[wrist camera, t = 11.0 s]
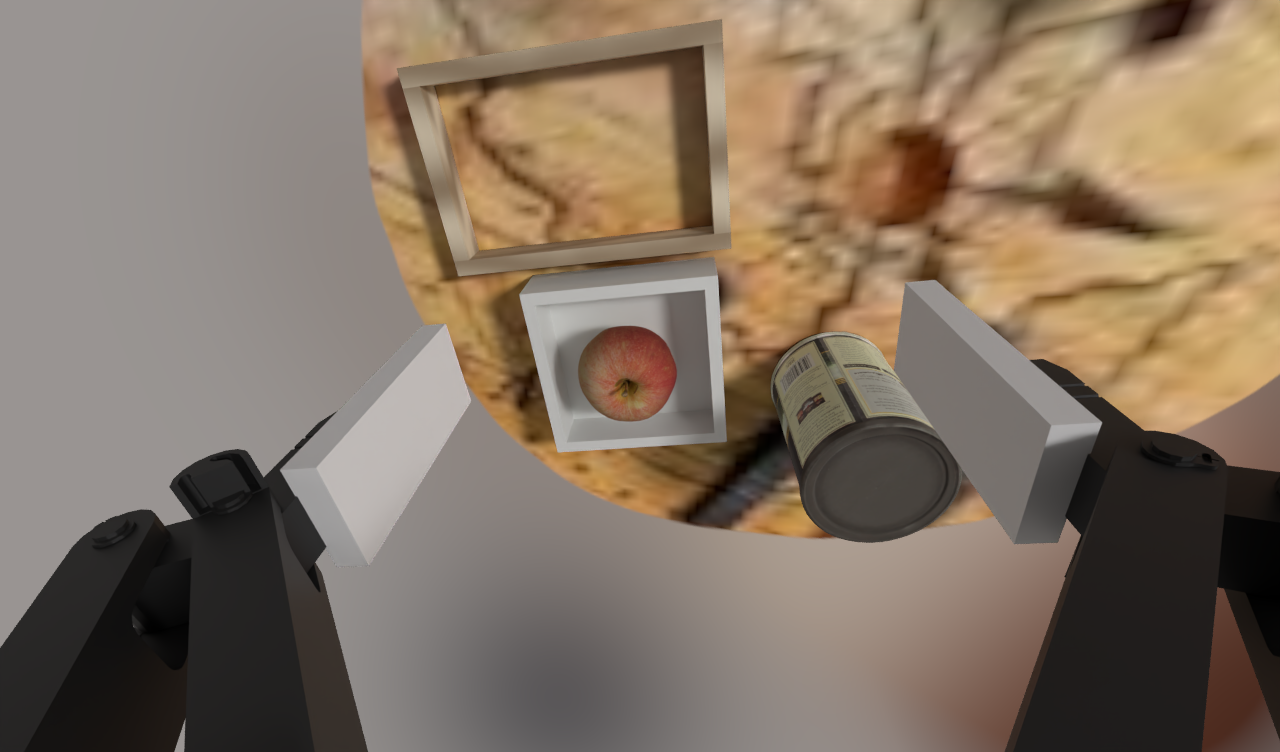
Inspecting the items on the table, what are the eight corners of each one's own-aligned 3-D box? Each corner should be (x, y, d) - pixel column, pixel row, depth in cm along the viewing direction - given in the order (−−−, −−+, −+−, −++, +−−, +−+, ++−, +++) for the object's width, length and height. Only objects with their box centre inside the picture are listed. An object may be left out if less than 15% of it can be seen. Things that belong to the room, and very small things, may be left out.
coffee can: (862, 438, 51) (921, 554, 38) (756, 418, 50) (781, 530, 38) (908, 341, 46) (993, 440, 33) (790, 319, 45) (832, 411, 33)
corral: (412, 68, 38) (396, 68, 36) (719, 22, 35) (721, 19, 33) (469, 266, 45) (458, 276, 43) (728, 239, 42) (731, 248, 40)
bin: (533, 275, 45) (519, 294, 41) (714, 256, 43) (717, 275, 39) (566, 423, 52) (557, 452, 48) (723, 413, 50) (726, 441, 46)
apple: (604, 294, 44) (590, 335, 37) (691, 330, 45) (694, 377, 39) (572, 371, 48) (555, 422, 41) (654, 403, 49) (650, 457, 42)
